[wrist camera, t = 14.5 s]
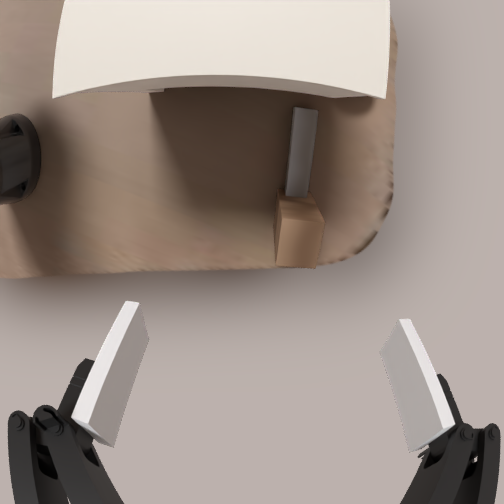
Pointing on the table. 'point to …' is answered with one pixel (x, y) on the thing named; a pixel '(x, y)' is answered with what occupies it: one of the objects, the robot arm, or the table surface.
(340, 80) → the cabinet
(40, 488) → the robot arm
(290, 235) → the blade tool
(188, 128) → the table surface
